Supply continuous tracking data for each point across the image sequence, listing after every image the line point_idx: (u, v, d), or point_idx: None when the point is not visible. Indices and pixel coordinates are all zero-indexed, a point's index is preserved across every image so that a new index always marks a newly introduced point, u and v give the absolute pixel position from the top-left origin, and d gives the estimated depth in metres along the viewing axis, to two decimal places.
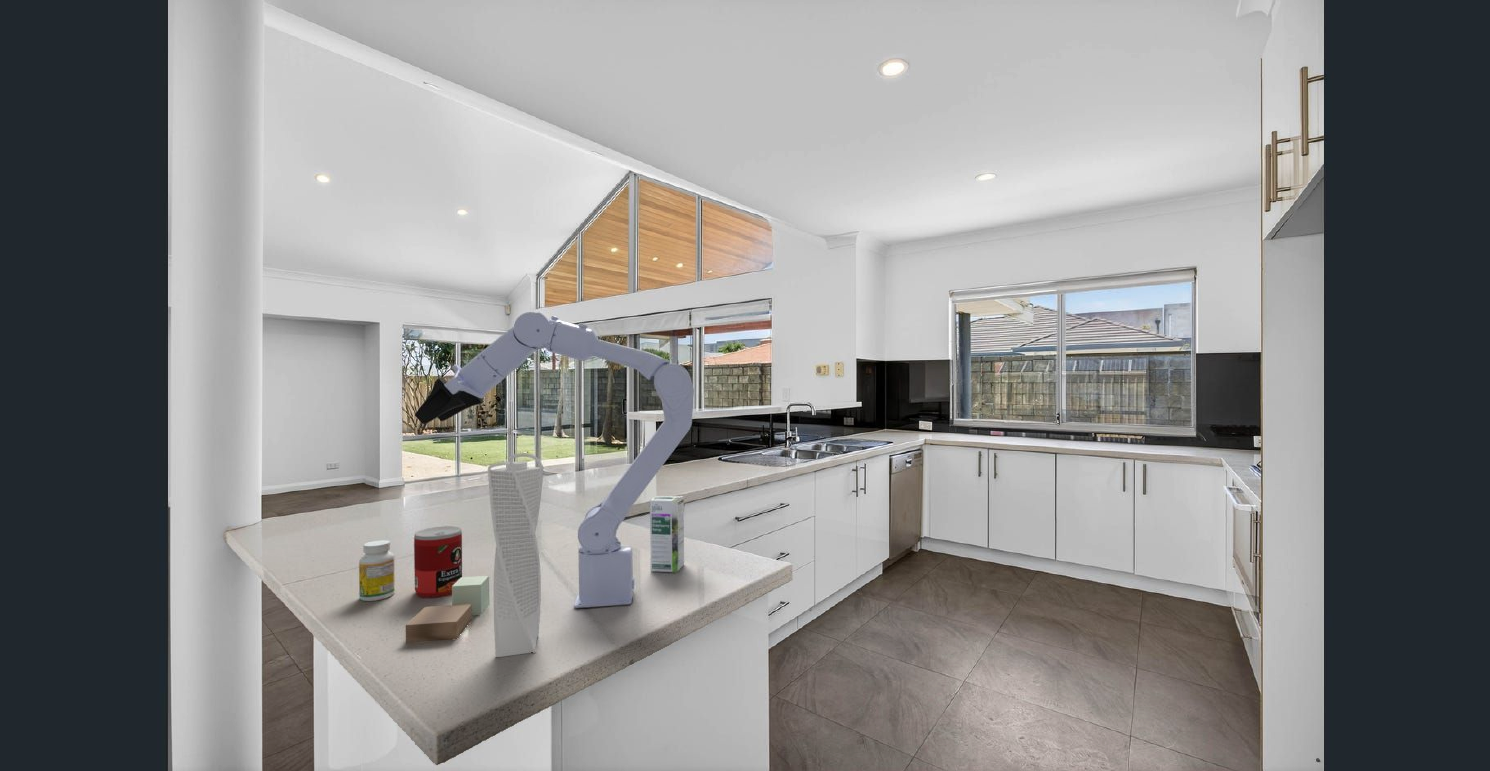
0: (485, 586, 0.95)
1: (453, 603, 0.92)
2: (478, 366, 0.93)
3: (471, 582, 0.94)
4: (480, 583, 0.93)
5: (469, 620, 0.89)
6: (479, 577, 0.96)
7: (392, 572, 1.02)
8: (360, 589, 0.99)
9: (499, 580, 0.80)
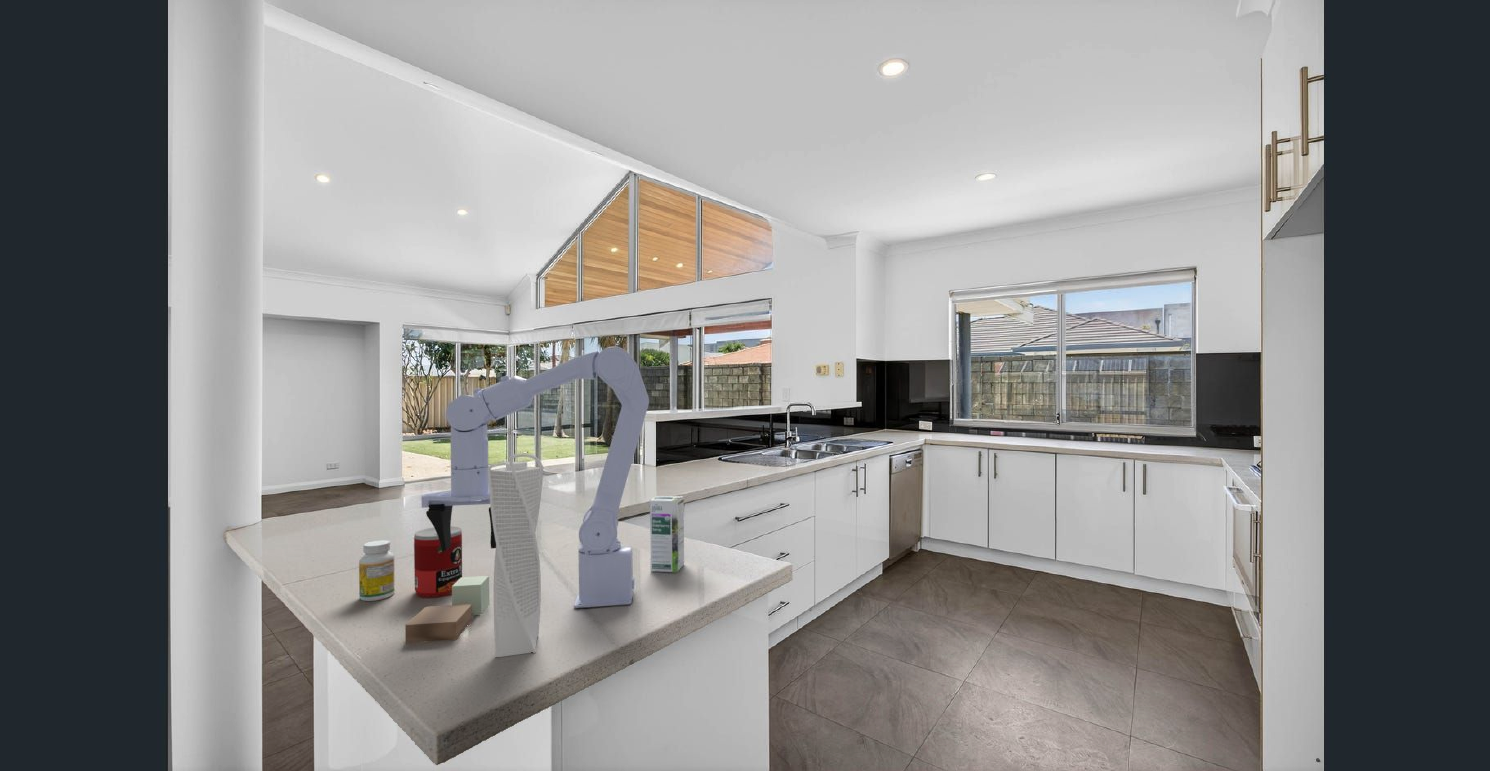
0: (485, 586, 0.95)
1: (453, 603, 0.92)
2: (485, 475, 0.94)
3: (471, 582, 0.94)
4: (480, 583, 0.93)
5: (469, 620, 0.89)
6: (479, 577, 0.96)
7: (392, 572, 1.02)
8: (360, 589, 0.99)
9: (499, 580, 0.80)
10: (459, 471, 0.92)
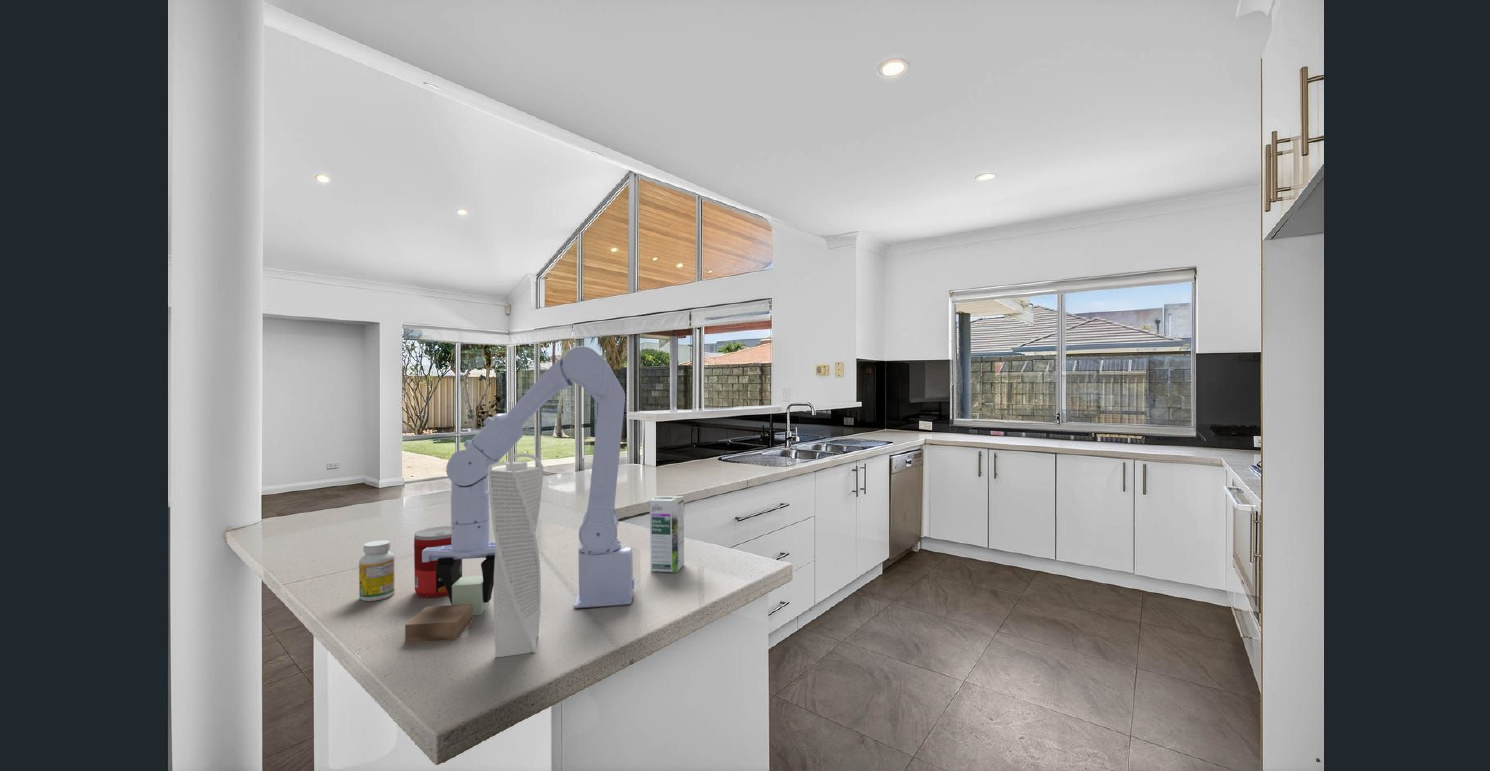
0: None
1: (453, 602, 0.92)
2: (486, 529, 0.94)
3: (471, 582, 0.94)
4: (480, 583, 0.93)
5: (469, 620, 0.89)
6: (479, 577, 0.96)
7: (392, 572, 1.02)
8: (360, 589, 0.99)
9: (499, 580, 0.80)
10: (460, 526, 0.92)
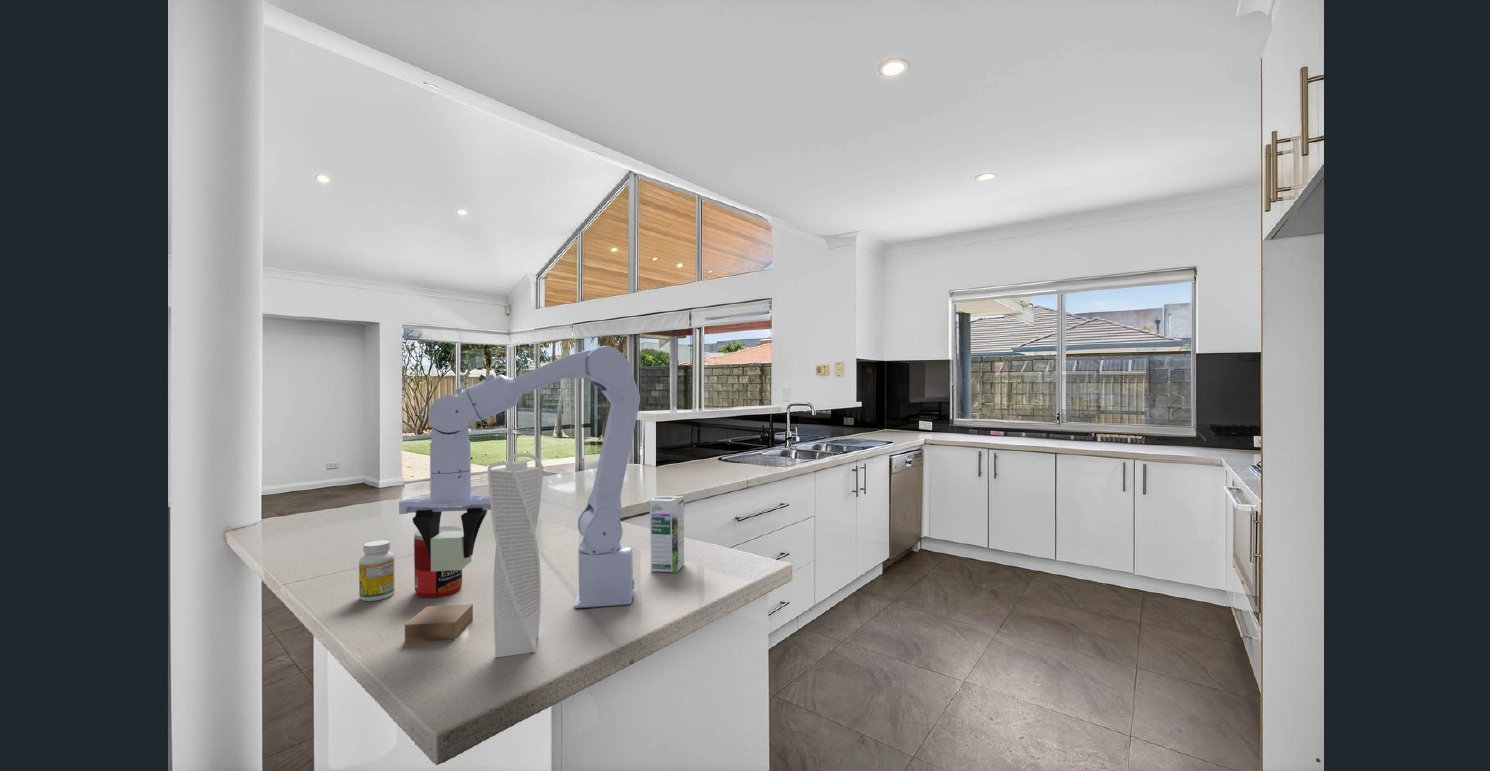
0: None
1: (432, 556, 0.87)
2: (467, 480, 0.89)
3: (451, 536, 0.89)
4: (461, 536, 0.88)
5: (469, 620, 0.89)
6: (460, 532, 0.91)
7: (392, 572, 1.02)
8: (360, 589, 0.99)
9: (499, 580, 0.80)
10: (438, 475, 0.87)
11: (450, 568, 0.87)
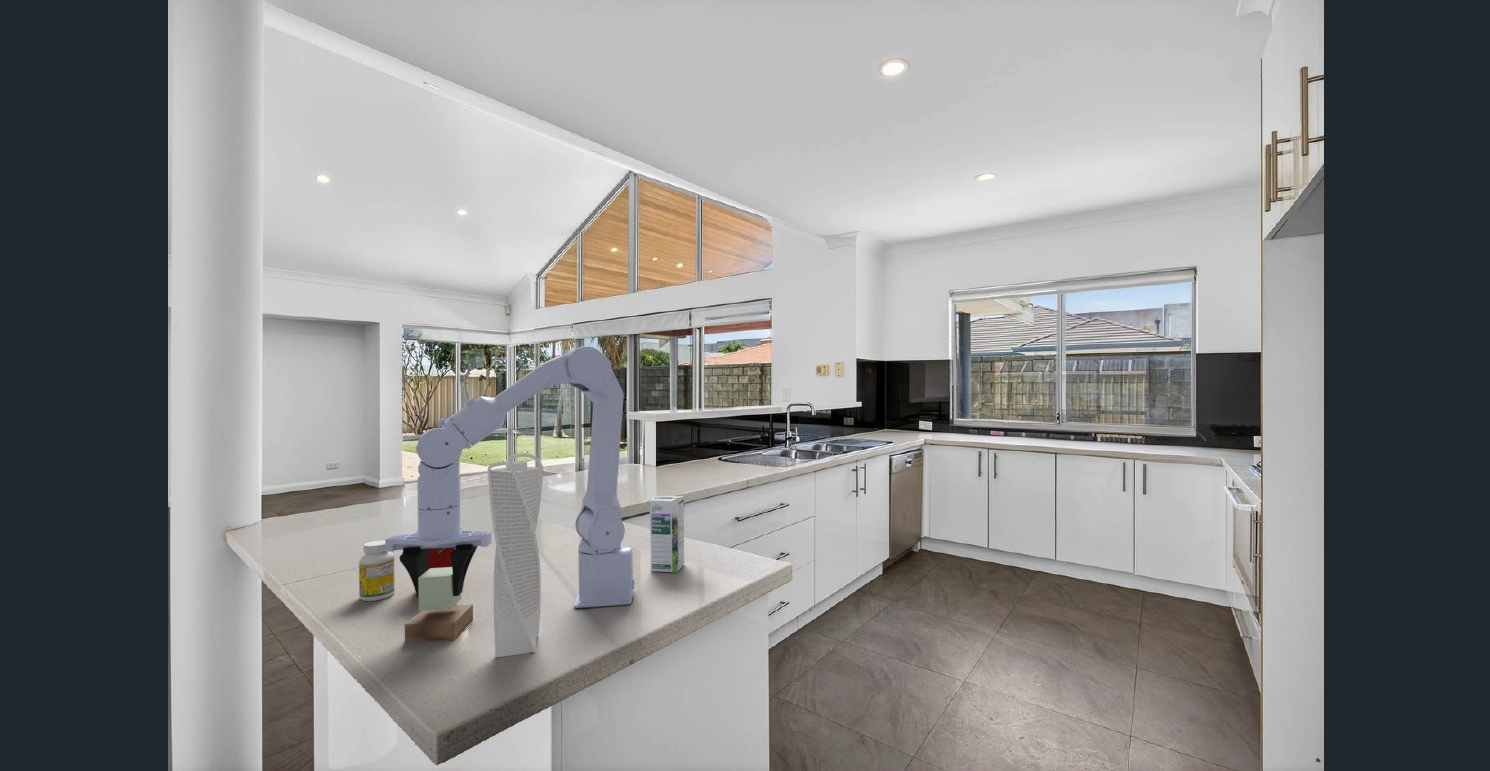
0: None
1: (419, 596, 0.84)
2: (456, 516, 0.86)
3: (440, 574, 0.86)
4: (450, 574, 0.85)
5: (469, 621, 0.89)
6: (450, 568, 0.88)
7: (392, 572, 1.02)
8: (360, 589, 0.99)
9: (499, 580, 0.80)
10: (426, 512, 0.84)
11: (439, 607, 0.84)
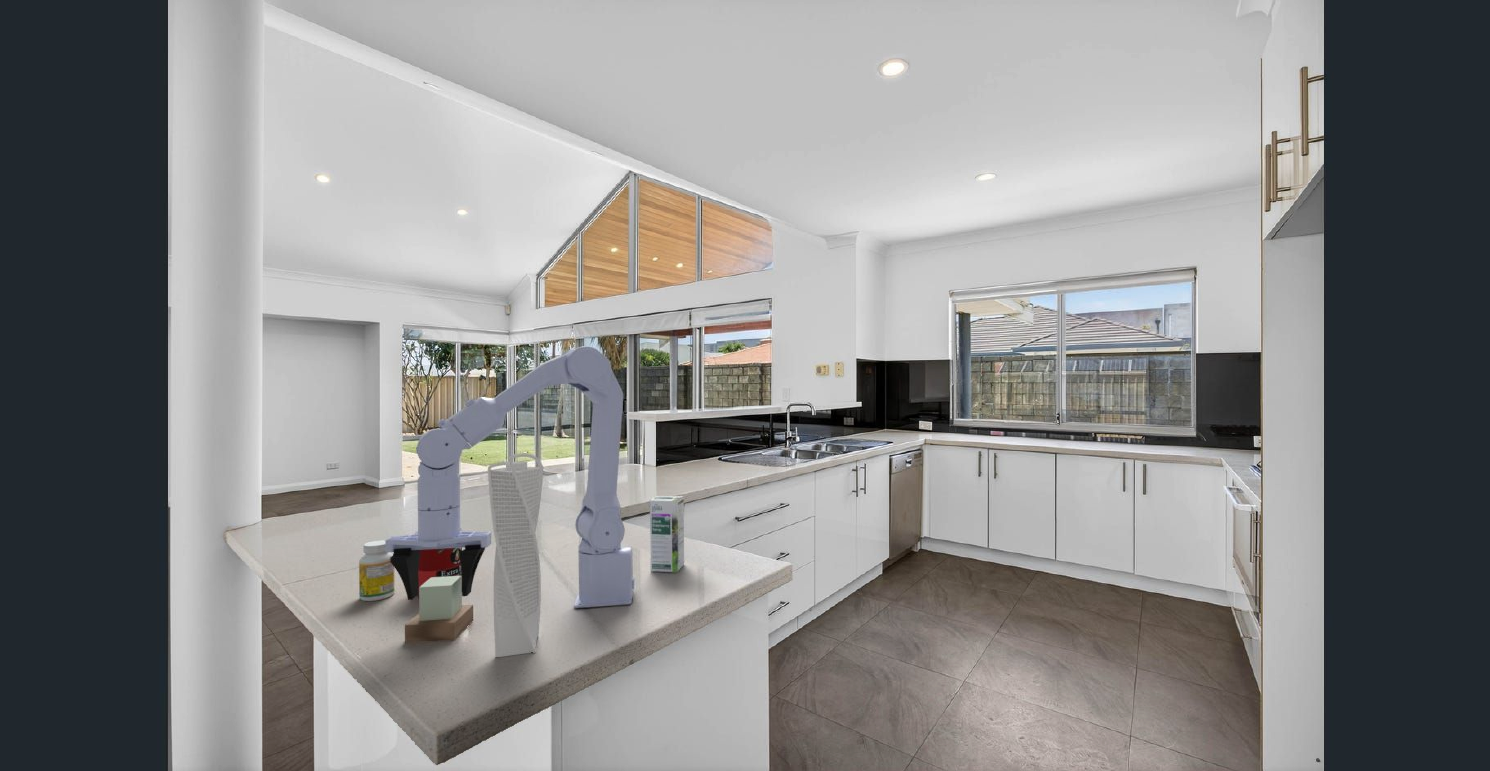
0: (457, 587, 0.87)
1: (420, 605, 0.84)
2: (456, 516, 0.86)
3: (440, 583, 0.86)
4: (450, 584, 0.85)
5: (470, 621, 0.89)
6: (450, 577, 0.88)
7: (392, 572, 1.02)
8: (360, 589, 0.99)
9: (499, 580, 0.80)
10: (426, 513, 0.84)
11: (439, 617, 0.84)
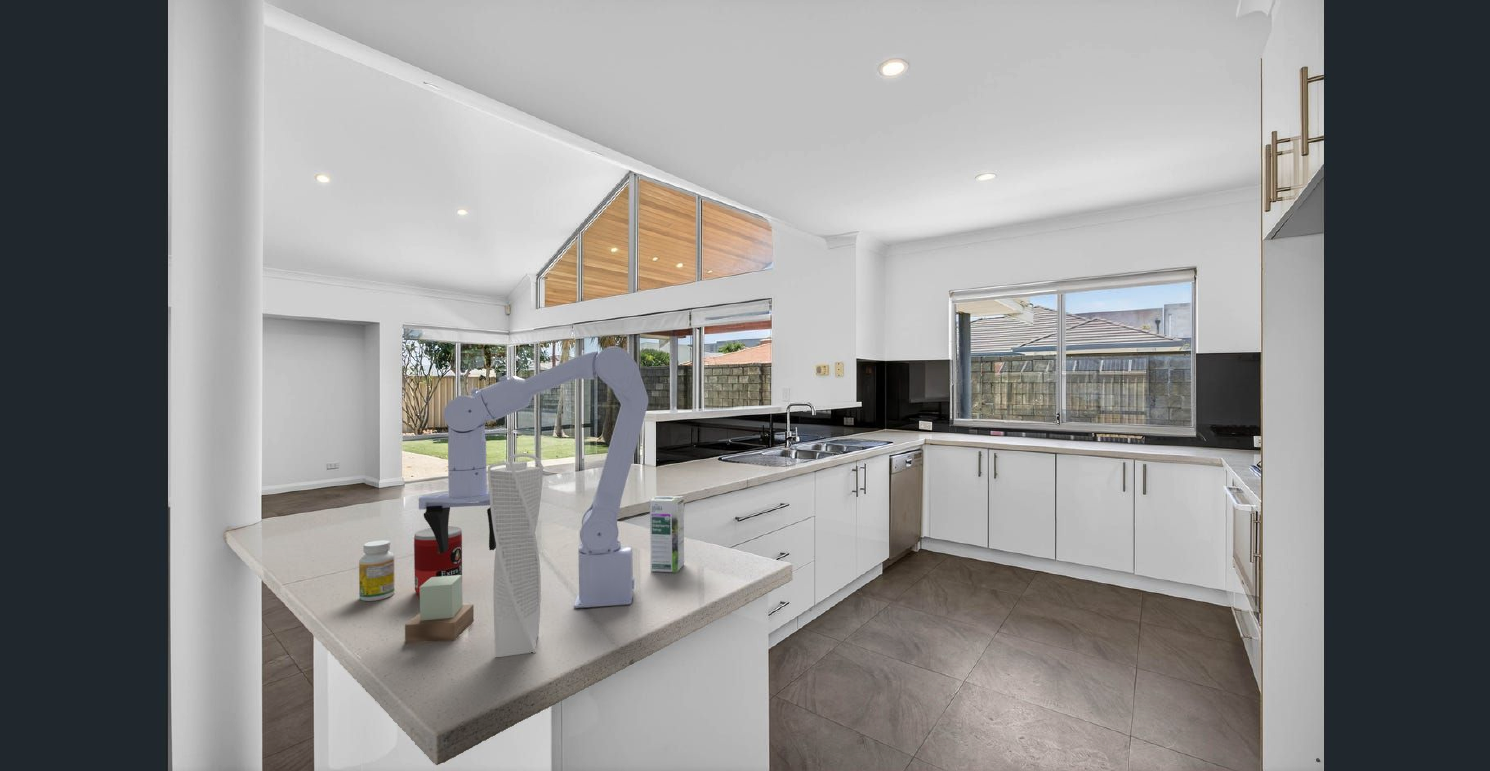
0: (457, 586, 0.87)
1: (421, 605, 0.84)
2: (484, 476, 0.93)
3: (441, 582, 0.86)
4: (451, 583, 0.85)
5: (470, 621, 0.89)
6: (451, 577, 0.88)
7: (392, 572, 1.02)
8: (360, 589, 0.99)
9: (499, 580, 0.80)
10: (457, 472, 0.91)
11: (440, 616, 0.84)
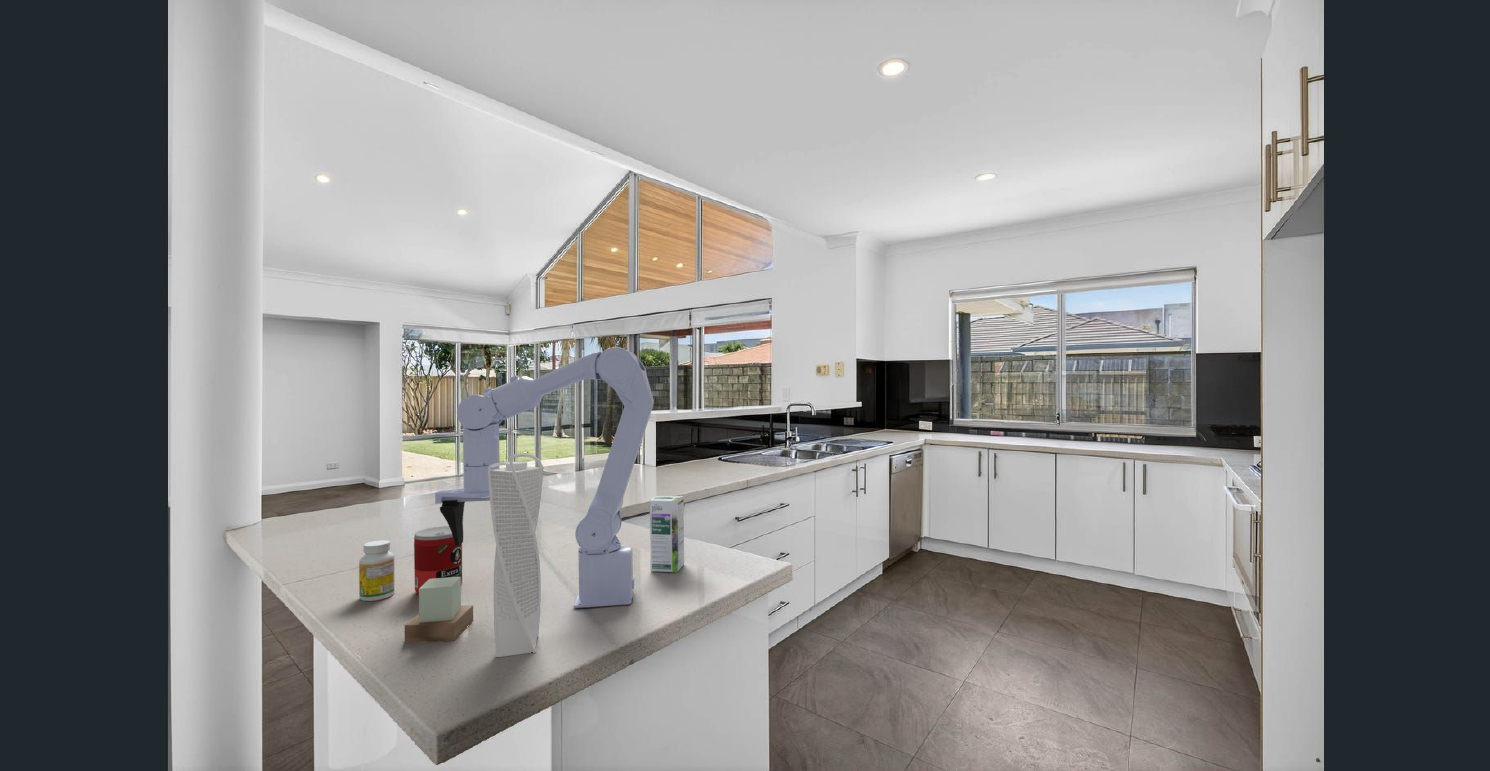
0: (456, 588, 0.87)
1: (420, 607, 0.83)
2: None
3: (440, 584, 0.85)
4: (451, 585, 0.85)
5: (470, 621, 0.89)
6: (449, 578, 0.88)
7: (392, 572, 1.02)
8: (360, 589, 0.99)
9: (499, 580, 0.80)
10: (471, 468, 0.95)
11: (440, 618, 0.84)
